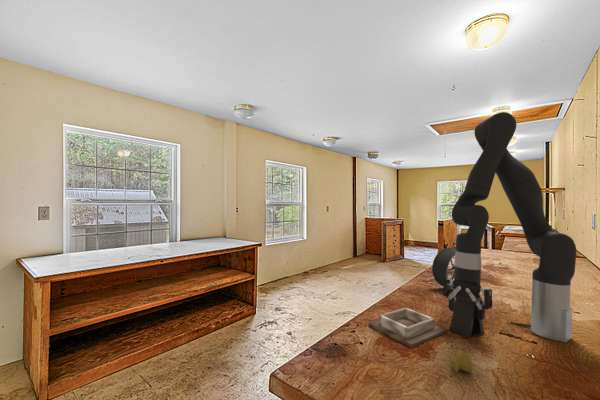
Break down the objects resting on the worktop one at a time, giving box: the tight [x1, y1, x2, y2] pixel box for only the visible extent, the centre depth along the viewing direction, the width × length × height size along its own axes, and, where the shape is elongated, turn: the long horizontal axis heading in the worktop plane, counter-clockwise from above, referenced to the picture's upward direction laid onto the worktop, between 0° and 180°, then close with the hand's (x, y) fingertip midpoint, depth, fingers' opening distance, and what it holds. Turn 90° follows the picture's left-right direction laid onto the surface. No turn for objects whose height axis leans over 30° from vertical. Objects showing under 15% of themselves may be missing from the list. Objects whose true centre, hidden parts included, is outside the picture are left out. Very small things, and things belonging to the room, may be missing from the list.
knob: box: [448, 349, 474, 374], centre depth 68 cm, size 5×5×5 cm
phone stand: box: [448, 293, 485, 339], centre depth 90 cm, size 9×6×12 cm, turn 118°
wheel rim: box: [431, 247, 456, 292], centre depth 134 cm, size 20×9×20 cm, turn 105°
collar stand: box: [368, 306, 447, 349], centre depth 90 cm, size 16×18×4 cm
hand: (465, 315), depth 90 cm, fingers open, 8 cm apart
